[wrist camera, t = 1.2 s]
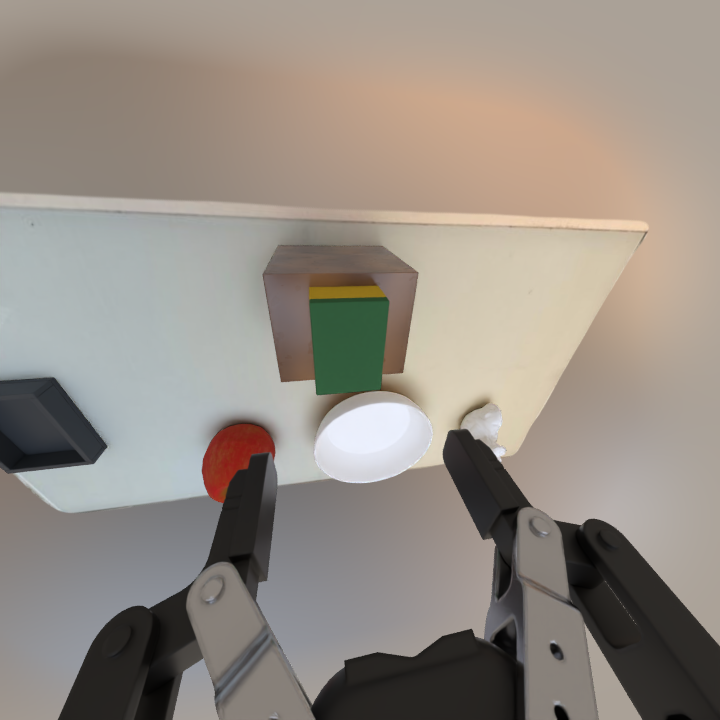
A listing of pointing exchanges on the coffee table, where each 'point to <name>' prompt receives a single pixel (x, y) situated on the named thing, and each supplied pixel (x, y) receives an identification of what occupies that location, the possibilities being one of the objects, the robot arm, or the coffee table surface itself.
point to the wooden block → (333, 269)
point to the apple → (232, 455)
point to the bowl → (371, 437)
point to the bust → (485, 426)
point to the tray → (43, 428)
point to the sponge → (348, 337)
